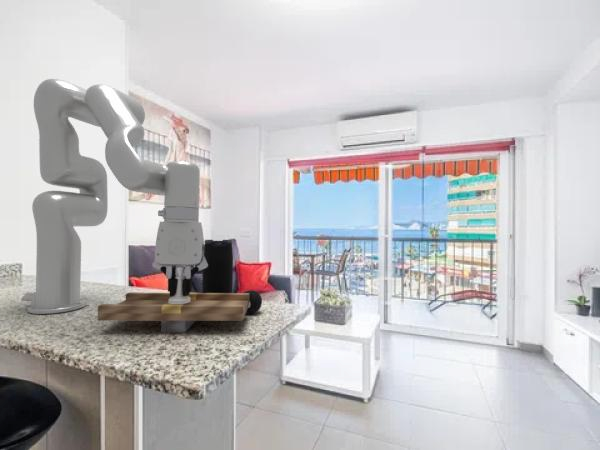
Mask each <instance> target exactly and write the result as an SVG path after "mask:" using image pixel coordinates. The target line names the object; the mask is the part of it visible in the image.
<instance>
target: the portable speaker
mask: <svg viewBox="0 0 600 450" xmlns="http://www.w3.org/2000/svg"><path fill="white" fill-rule="evenodd" d="M204 256H205V259H206V261H207V263H208V267H207V268H205V269H202V270H201V271H202V275H201V277H202V278H201V279H202V280H201V281H202V282H201V289H202V290H201V291H202V292H201V293H233V284H234V283H233V281H234V279H233V278H234V254H233V240H232V239H223V240H214V239H205V240H204Z"/></svg>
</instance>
